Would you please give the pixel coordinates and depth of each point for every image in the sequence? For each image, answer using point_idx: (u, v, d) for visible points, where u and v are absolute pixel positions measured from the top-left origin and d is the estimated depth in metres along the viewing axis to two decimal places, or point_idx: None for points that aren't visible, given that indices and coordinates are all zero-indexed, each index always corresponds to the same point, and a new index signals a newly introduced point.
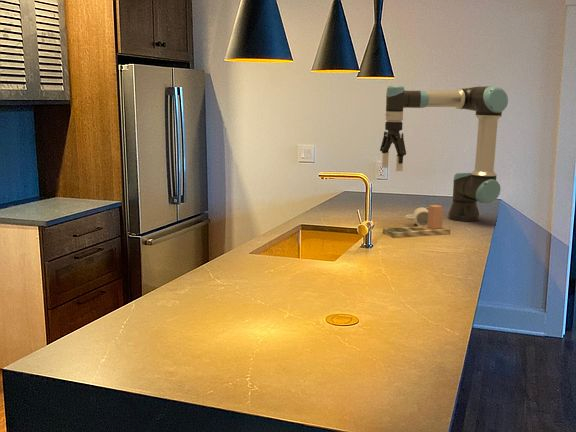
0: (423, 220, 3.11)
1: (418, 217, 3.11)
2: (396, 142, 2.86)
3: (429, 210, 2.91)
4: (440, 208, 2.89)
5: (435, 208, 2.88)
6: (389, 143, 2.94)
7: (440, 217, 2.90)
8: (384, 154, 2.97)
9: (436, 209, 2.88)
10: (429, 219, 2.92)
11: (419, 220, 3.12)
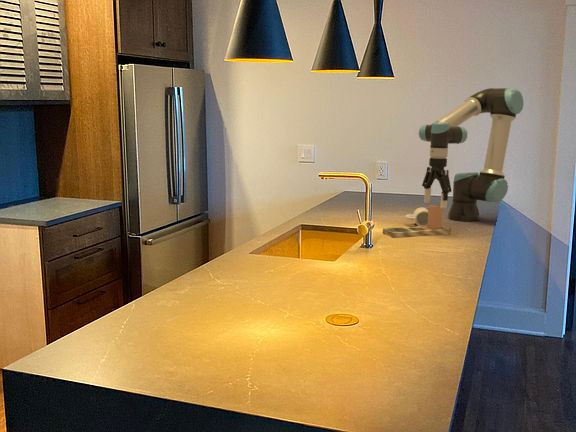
0: (423, 220, 3.11)
1: (418, 217, 3.11)
2: (441, 179, 2.84)
3: (429, 210, 2.91)
4: (440, 208, 2.89)
5: (435, 208, 2.88)
6: (432, 179, 2.92)
7: (440, 217, 2.90)
8: (427, 190, 2.95)
9: (436, 209, 2.88)
10: (429, 219, 2.92)
11: (419, 220, 3.12)
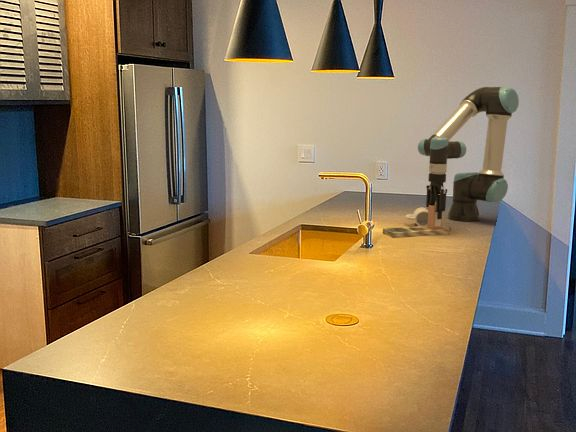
0: (423, 220, 3.11)
1: (418, 217, 3.11)
2: (438, 196, 2.87)
3: (429, 210, 2.91)
4: None
5: (435, 208, 2.88)
6: (434, 196, 2.91)
7: None
8: None
9: (436, 209, 2.88)
10: (429, 219, 2.92)
11: (419, 220, 3.12)
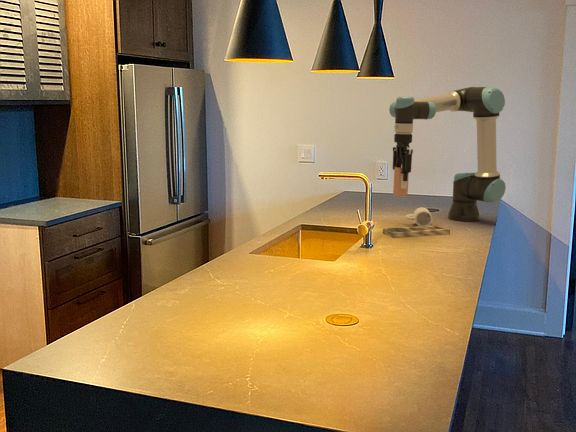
0: (423, 220, 3.11)
1: (418, 217, 3.11)
2: (404, 157, 2.78)
3: (395, 172, 2.82)
4: None
5: (401, 169, 2.79)
6: (400, 158, 2.82)
7: None
8: None
9: (401, 170, 2.79)
10: (395, 182, 2.83)
11: (419, 220, 3.12)
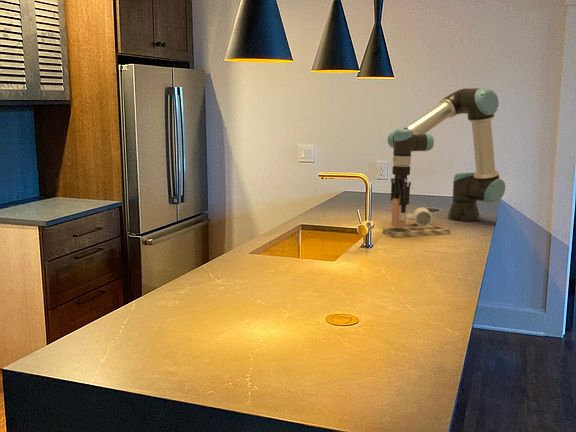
0: (423, 220, 3.11)
1: (418, 217, 3.11)
2: (402, 189, 2.80)
3: (393, 203, 2.85)
4: None
5: (399, 201, 2.81)
6: (398, 189, 2.85)
7: None
8: None
9: (399, 202, 2.82)
10: (393, 213, 2.85)
11: (419, 220, 3.12)
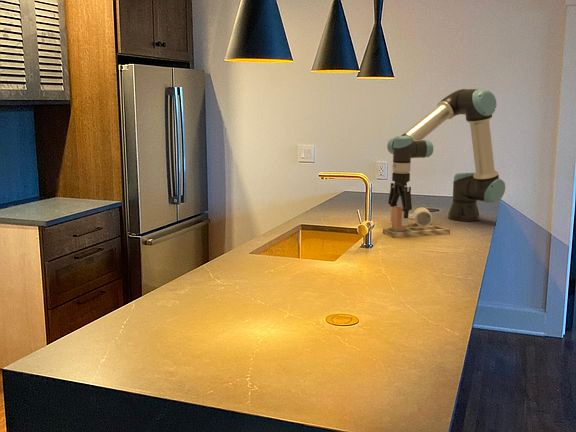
0: (423, 220, 3.11)
1: (418, 217, 3.11)
2: (403, 195, 2.80)
3: (393, 212, 2.85)
4: None
5: (399, 210, 2.82)
6: (397, 195, 2.86)
7: None
8: None
9: (399, 211, 2.82)
10: (393, 221, 2.86)
11: (419, 220, 3.12)
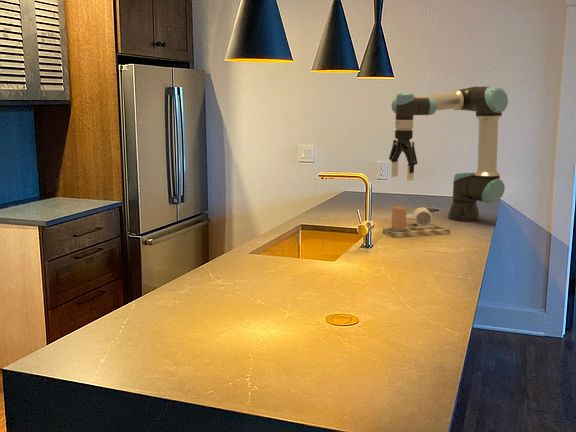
0: (423, 220, 3.11)
1: (418, 217, 3.11)
2: (406, 151, 2.79)
3: (393, 212, 2.85)
4: (404, 210, 2.83)
5: (399, 210, 2.82)
6: (399, 152, 2.87)
7: (404, 219, 2.84)
8: (393, 163, 2.90)
9: (399, 211, 2.82)
10: (393, 221, 2.86)
11: (419, 220, 3.12)
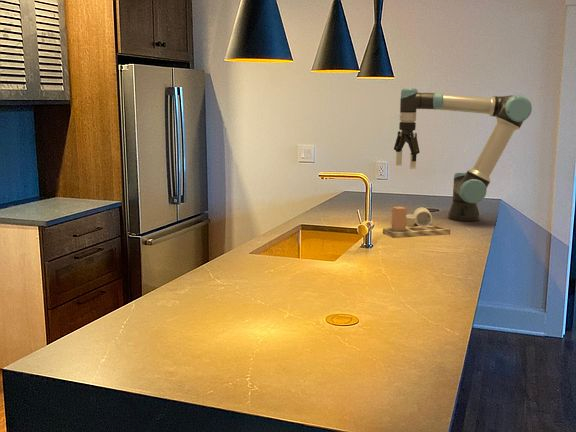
0: (423, 220, 3.11)
1: (418, 217, 3.11)
2: (410, 141, 3.04)
3: (393, 212, 2.85)
4: (404, 210, 2.83)
5: (399, 210, 2.82)
6: (403, 142, 3.12)
7: (404, 219, 2.84)
8: (398, 153, 3.15)
9: (399, 211, 2.82)
10: (393, 221, 2.86)
11: (419, 220, 3.12)
